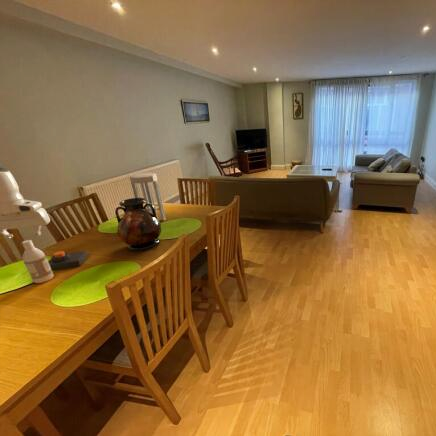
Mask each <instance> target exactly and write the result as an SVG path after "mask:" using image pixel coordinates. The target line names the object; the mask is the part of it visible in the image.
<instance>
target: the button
mask: <svg viewBox="0 0 436 436" xmlns="http://www.w3.org/2000/svg"><path fill="white" fill-rule="evenodd" d="M64 252H65V251H64V250H58V251H56V252H54V253H53V256H54V257H55V258H60V257H63V256H65V253H64Z"/></svg>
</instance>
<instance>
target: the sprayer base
mask: <svg viewBox="0 0 436 436" xmlns="http://www.w3.org/2000/svg"><path fill="white" fill-rule="evenodd" d="M64 253H65V256H63V257H60V258H55V257H54V255H52V256H51V257H50V259H49V260H47V261H48V263H49V265H50V267H51V270H52V271H57V270H64V269H71V268H76V267H77V268H78V267H81V266H82V264H83V263H84V262H85V261H86V260H87V258H88V257H89V253H88V251H87V250H82V251H75V252H68V251H67V252H66V251H64Z"/></svg>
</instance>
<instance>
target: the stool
mask: <svg viewBox="0 0 436 436" xmlns="http://www.w3.org/2000/svg"><path fill="white" fill-rule="evenodd" d="M129 181H130V185H131V188H132V192H133V195H134V198H141V194H140V190H139V187H138V184H139V185H140V188H141V191H142V196H143V198H145V199H146V202H145V203H144V205H145V204H152V205H153V206H154V209H155V213H156V217H157V219H158V220H159V216H158V213H157V211H158V212H159V215H160V220H161V221H166V220H167V218H166V214H165V208H164V204H163V199H162V195H161V191H160V186H159V182H158V177H157V174H156V173H154V172H142V173H136V174H132V175H129ZM151 183H152V184H153V189H154V194H155V198H156V203H155V199H154V195H153V190H152V186H151ZM146 210H148V211H149V212H151V213H153V210H152V208H151V207H150V206H146Z"/></svg>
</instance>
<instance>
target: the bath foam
mask: <svg viewBox="0 0 436 436" xmlns="http://www.w3.org/2000/svg"><path fill="white" fill-rule="evenodd" d="M21 244H22V247H23V248H24V252H23V254H22V261H23V263H24V265H25V269H26V270H27V272H28V273H29V275H30V277H31V280H32V282H33V283H35V284H42V283H45V282H48V281H50V280H52V279H53V278H54V277H55V275H54V272H53V270H51V267H50V265H49V263H48V261H49V260H48V259H47V256H46V255H45V252H43V250H41V249H39V248H38V247H35V245H34V243H33V240H32V239H27V240H23V241H21Z"/></svg>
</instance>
